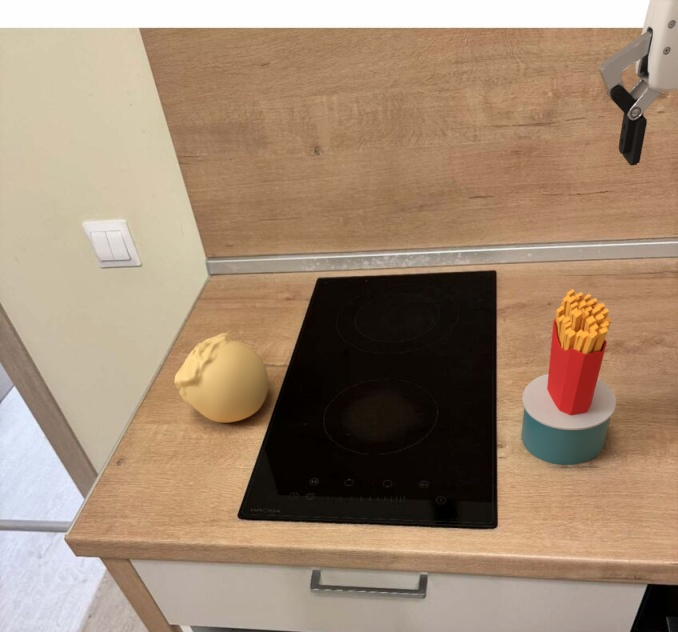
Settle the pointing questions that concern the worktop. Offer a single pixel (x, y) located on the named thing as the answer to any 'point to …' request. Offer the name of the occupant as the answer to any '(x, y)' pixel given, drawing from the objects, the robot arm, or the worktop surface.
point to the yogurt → (564, 425)
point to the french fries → (577, 352)
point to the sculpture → (223, 379)
